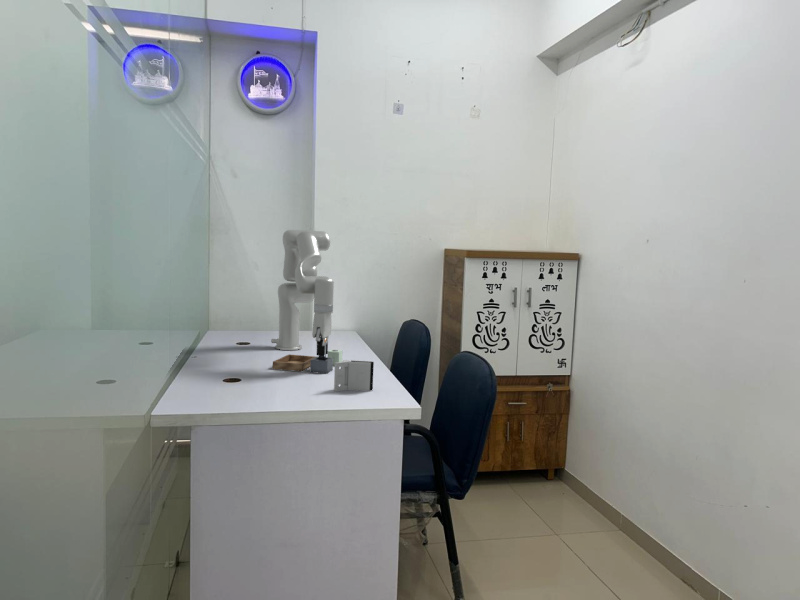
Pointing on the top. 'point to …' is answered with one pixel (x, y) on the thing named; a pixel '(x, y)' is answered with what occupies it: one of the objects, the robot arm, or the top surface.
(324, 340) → the cylinder
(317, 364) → the block
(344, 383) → the hinge
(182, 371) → the top surface
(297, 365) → the tray
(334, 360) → the pale green block
